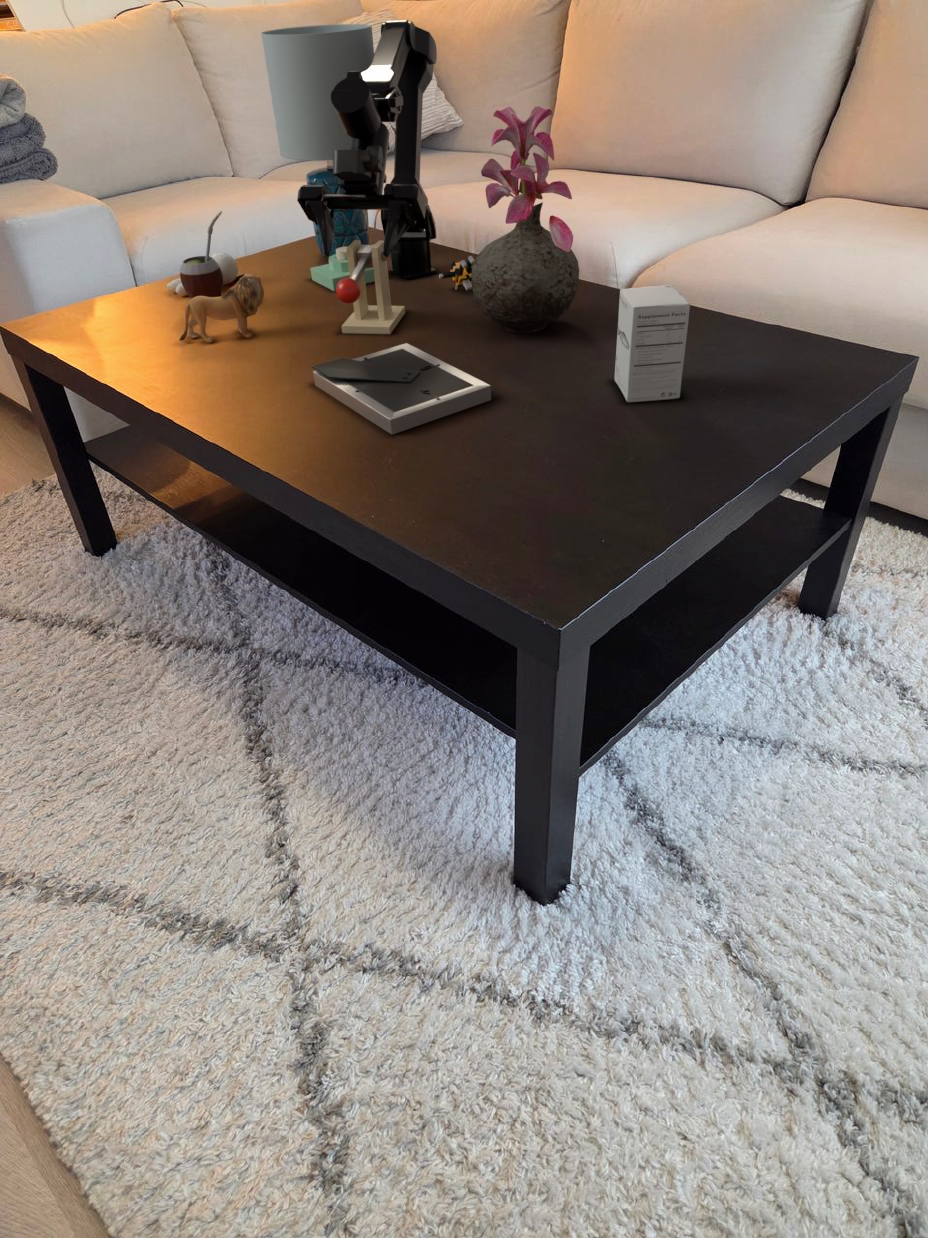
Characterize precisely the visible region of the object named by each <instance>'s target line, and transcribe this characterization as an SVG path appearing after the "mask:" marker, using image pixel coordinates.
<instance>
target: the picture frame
mask: <svg viewBox="0 0 928 1238" xmlns="http://www.w3.org/2000/svg"><path fill="white" fill-rule="evenodd" d="M311 368H312V369H313V370H312V377H313V382H314V386H315V387H317V388H318V389H320V390H321V391H323V392H325V393H326V394H328V395H329V396H330V397H332V398H334V399H335V400H337V401H339V402H340V403H342V404H343V405H344V406H346V407H348V408H349V409H351V410H352V411H354V412H355V413H357V414H359V415H360V416H362V417H363V418H365V419H366V420H368V421H369V422H371V423H373V424H374V425H376V426H377V427H379V428H380V429H382V430H383V431H385V432H386V433H388V434H390V435H391V436H393V435H396V434H398V433H402V432H404V431H407V430H410V429H413V428H415V427H419V426H422V425H424V424H427V423H430V422H434V421H435V420H438V419H442V418H445V417H448V416H450V415H453V414H456V413H458V412H462V411H464V410H467V409H470V408H473V407H475V406H479V405H482V404H484V403H487V402H490V401H492V386H491V385H490V384H489V383H487V382H485V381H483V380H481V379H479V378H477V377H475V376H473V375H471V374H469V373H467V372H465V371H463V370H461V369H459V368H457V367H455V366H453V365H451V364H449V363H447V362H445V361H443V360H441V359H439V358H437V357H435V356H433V355H431V354H430V353H427V352H425V351H423V350H422V349H420V348H418V347H415V346H413V345H411V344H409V343H407V342H406V343H403V344H399V345H396V346H393V347H389V348H386V349H382V350H379V351H376V352H372V353H369V354H365V355H362V356H359V357H355V358H352V359H350V358H345V357H341V358H338V359H334V360H330V361H326V362H323V363H318V364H314V365H311Z"/></svg>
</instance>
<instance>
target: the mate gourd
mask: <svg viewBox="0 0 928 1238" xmlns="http://www.w3.org/2000/svg"><path fill="white" fill-rule="evenodd" d="M222 214H223V211H222V210H220V211H219V212H218V213H217V215H216V216H215V217H214V218H212V220H211V222H210V224H209V226H208V227H207V240H206V241H207V242H206V251H205V255H196V256H191V257H187V258H185V259H183V260H182V262H181V264H180V267H179V278H180V279H181V283H182V285H183V287H184V289H185V291H186V293H187V294H188V295H187V296H188V297H189V298H190V299H192V298H193V297H197V296H206V297H221V296H223V294H222V293H223V289H224V285H223V275H222V271H221V269H220V267H219V265H218V263H217V262H216V261H215V260H214V259H213V258H212V257H211V256H210V250H211V242H212V235H213V232H214V231H213V230H214V228H213V227H214V225H215V223H216V222H217V220H218V219H219V218H220V216H221V215H222Z"/></svg>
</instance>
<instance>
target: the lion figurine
mask: <svg viewBox="0 0 928 1238" xmlns="http://www.w3.org/2000/svg"><path fill="white" fill-rule="evenodd" d="M244 274H245V275H244V276H242V278H240V280H239V281H238V282H236V283H237V284H235V285H232V286H231V287H230V288H228V289H227V291H226V292H225V293H224V294H222V296H221V297H206V296H197V297H193V298H192V299H191V298H190V299H189V300H188V301H187V303H186V305H185V309H184V330H183V333H182V335H181V336H180V337H179V339H178V341H181V342H183V341H184V340H186V338H187V336H189V337H190V338H193V339H195V338H198V337H199V335H200V336H201V337H202V338H203V339H204V341H205V342H206V343H214V341H215V339H214V337H213V336H209V335H208V334H207V332H206V328H207V327H206V326H207V321H208V320H207V317H210V318H212V319H214V320H218V321H230V320H233V319H235V320H236V323H237V329H238V331H239V333H241V334H242V335H243V337H245V338H247V339H250V338H252V337H253V334H252V332H249V329H248V319H247V318H248V317H251V316H254V315H256V313H257V312H258V309H259V307H260V306H261V304H262V303H263V301H264V297H265V290H264V287H263V285H262V279H261V276H257V275H256V274H253V273H244ZM190 311H191V318H190ZM189 320H190V321H189ZM196 326H198V333H197V332H195V331H194V330H195V328H196Z"/></svg>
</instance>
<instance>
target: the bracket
mask: <svg viewBox="0 0 928 1238" xmlns="http://www.w3.org/2000/svg"><path fill="white" fill-rule="evenodd" d="M373 245H374V246H373V247H372V248H371V251H372V260H373V269H374V278H375V281H374V287H375V295H376V297H375V298H376V304H373V305H371V304H370V305H369V302H368V294H367V285H366V284H367V283H366V284H365V276H364V273H363V275H362V277H361V279H360V280H359V282H358V284H359V286H360V291H361V292H360V297H359V298H358V300H357V301H356V302H354V303H352V304H353V312H352V313H351V314H350V315H349V316H348V317H347V318H346V320H345V321H344V322H343V324H341V326H340V327H341V333H342V334H357V335H358V334H359V335H361V334H362V335H365V334H366V335H391V334H392V333H393V331H394V329H395V328H396V327H397V325H398V324H399V322H400V321H401V320H402V319H403V317H404V315H405V314H406V306H405V305H392V301H391V300H392V299H391V290H390V289H391V287H390V279H389V278H390V277H389V271H388V270H389V269H388V259H387V258H388V257H384V255H383V245H384V239H383V240H382V239H381V240H377V242H376V243H374V244H373ZM360 246H361V241H360V240H354V241H353V242H352V243H351V244H350V245H349V246H348V247H347V248H346V250H347V257H348V265H349V273H350V277H351V275H352V273H353V271H354V269H355V268H356V266H357V264H358V256H357V252H358V250H359V248H360Z"/></svg>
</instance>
